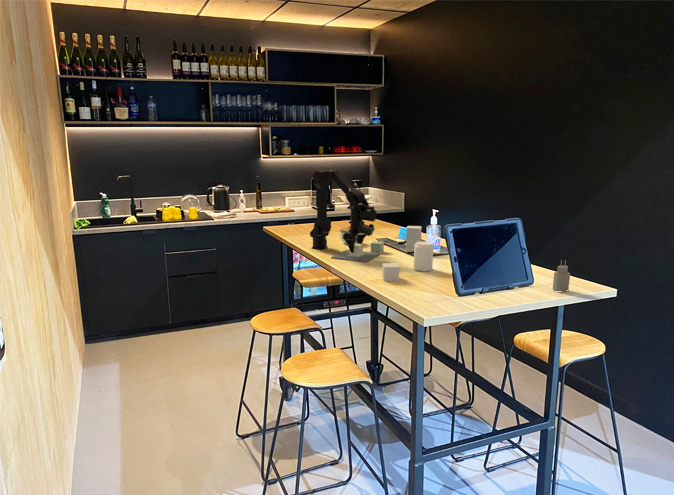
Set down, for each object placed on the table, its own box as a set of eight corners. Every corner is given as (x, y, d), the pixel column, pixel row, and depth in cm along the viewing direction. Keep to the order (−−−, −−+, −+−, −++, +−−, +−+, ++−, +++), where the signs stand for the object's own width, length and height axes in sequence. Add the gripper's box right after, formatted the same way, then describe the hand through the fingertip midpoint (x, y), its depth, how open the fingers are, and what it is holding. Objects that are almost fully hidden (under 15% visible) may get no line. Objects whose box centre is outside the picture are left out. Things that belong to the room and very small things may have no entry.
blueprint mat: (331, 258, 240) (331, 256, 240) (346, 250, 256) (346, 249, 255) (366, 262, 232) (366, 260, 232) (380, 254, 248) (380, 252, 248)
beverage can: (420, 273, 215) (422, 245, 212) (409, 268, 222) (410, 242, 219) (436, 270, 219) (437, 243, 216) (424, 266, 226) (425, 240, 223)
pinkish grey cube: (398, 281, 203) (399, 266, 202) (383, 281, 203) (384, 267, 201) (396, 277, 209) (396, 263, 208) (382, 277, 209) (382, 263, 207)
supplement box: (420, 253, 250) (421, 228, 247) (405, 252, 251) (406, 227, 249) (420, 250, 257) (421, 225, 254) (406, 249, 258) (407, 225, 256)
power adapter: (569, 291, 190) (572, 260, 188) (557, 292, 189) (560, 261, 186) (563, 289, 193) (566, 258, 191) (551, 290, 192) (554, 259, 189)
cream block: (349, 255, 243) (349, 245, 242) (353, 253, 247) (353, 243, 246) (358, 256, 241) (358, 246, 239) (362, 254, 245) (362, 244, 244)
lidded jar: (353, 240, 280) (353, 223, 278) (362, 244, 271) (363, 227, 269) (336, 242, 276) (336, 225, 273) (344, 246, 266) (345, 228, 264)
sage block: (370, 252, 252) (370, 242, 251) (374, 250, 256) (374, 241, 255) (380, 253, 250) (380, 243, 249) (383, 251, 254) (383, 242, 253)
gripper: (364, 223, 228) (364, 256, 232) (379, 217, 245) (378, 248, 248) (342, 221, 233) (342, 254, 236) (358, 215, 249) (357, 246, 253)
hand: (356, 250), depth 243 cm, fingers open, 9 cm apart
